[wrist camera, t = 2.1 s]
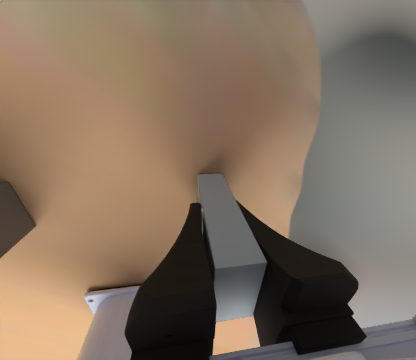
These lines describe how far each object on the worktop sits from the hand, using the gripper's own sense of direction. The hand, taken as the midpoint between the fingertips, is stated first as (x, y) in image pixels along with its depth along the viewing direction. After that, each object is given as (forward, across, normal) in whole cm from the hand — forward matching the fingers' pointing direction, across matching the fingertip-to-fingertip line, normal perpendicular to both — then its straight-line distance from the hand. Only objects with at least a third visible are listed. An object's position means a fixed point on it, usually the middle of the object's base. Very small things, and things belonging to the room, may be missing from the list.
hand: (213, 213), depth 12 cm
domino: (+2, 0, 0) cm, 2 cm away
